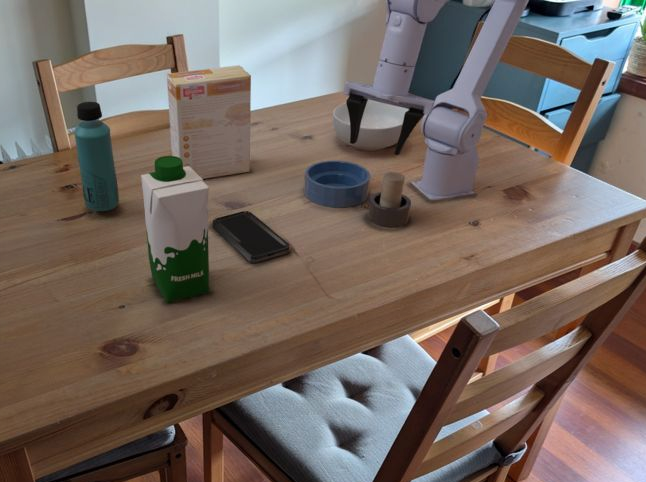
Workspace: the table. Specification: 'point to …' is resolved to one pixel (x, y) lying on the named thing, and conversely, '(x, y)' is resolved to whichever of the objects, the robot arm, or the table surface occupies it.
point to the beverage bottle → (96, 159)
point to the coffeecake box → (211, 119)
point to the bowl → (336, 183)
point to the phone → (250, 236)
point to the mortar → (388, 212)
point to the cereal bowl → (371, 125)
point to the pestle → (392, 190)
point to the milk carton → (177, 229)
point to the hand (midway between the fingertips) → (374, 148)
